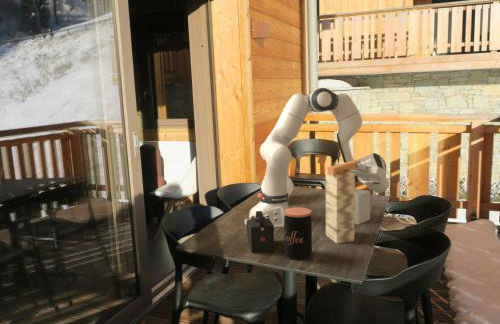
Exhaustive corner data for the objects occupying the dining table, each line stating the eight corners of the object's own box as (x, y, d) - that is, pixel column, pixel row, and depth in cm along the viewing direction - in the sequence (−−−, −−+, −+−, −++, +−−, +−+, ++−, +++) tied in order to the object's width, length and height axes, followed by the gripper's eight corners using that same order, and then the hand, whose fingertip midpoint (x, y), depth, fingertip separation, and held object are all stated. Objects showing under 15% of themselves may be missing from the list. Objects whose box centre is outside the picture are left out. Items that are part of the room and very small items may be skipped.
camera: (271, 239, 197) (270, 206, 194) (277, 251, 184) (276, 215, 181) (246, 241, 196) (245, 207, 193) (250, 253, 182) (249, 217, 179)
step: (358, 224, 213) (358, 195, 210) (340, 220, 220) (340, 192, 217) (369, 219, 220) (370, 191, 217) (351, 215, 227) (352, 188, 224)
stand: (334, 243, 190) (334, 173, 184) (323, 235, 200) (323, 168, 195) (356, 240, 192) (357, 171, 187) (344, 232, 203) (345, 166, 197)
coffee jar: (278, 255, 179) (278, 211, 176) (296, 248, 186) (295, 205, 183) (300, 262, 171) (299, 216, 168) (317, 254, 179) (317, 210, 176)
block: (333, 175, 185) (333, 168, 184) (327, 174, 187) (327, 167, 186) (360, 167, 199) (360, 160, 198) (354, 166, 201) (354, 160, 200)
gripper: (349, 165, 215) (335, 154, 205) (389, 171, 200) (375, 159, 191) (346, 178, 213) (331, 167, 204) (385, 184, 199) (371, 173, 190)
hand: (353, 164), depth 197 cm, fingers closed on block, 3 cm apart
